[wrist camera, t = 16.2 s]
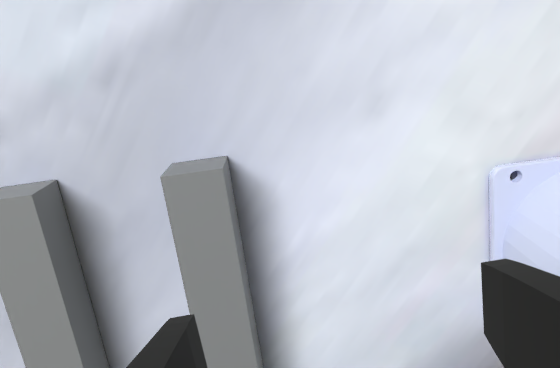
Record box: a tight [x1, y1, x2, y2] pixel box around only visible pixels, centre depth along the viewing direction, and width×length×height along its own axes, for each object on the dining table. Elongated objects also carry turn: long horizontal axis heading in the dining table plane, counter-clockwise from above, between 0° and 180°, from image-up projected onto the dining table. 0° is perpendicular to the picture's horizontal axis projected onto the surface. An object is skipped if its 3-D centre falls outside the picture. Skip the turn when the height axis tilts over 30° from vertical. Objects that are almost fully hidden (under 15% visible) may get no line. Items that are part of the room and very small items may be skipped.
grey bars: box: [0, 156, 264, 368], centre depth 21 cm, size 10×16×2 cm, turn 8°
